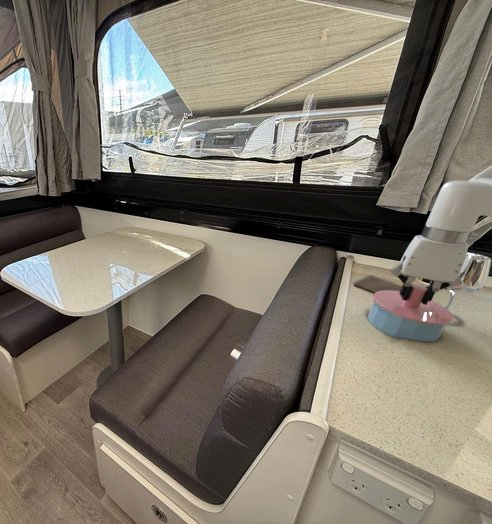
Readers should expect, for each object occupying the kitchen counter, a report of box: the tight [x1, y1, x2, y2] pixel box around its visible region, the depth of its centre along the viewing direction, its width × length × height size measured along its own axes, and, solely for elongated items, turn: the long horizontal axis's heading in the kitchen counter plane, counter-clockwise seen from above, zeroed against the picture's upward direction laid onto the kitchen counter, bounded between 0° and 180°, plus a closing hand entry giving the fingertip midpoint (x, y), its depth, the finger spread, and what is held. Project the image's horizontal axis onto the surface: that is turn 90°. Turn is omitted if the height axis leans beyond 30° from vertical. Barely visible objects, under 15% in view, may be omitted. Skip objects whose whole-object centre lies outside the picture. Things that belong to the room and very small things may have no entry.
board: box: [353, 276, 402, 295], centre depth 92 cm, size 16×12×1 cm
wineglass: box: [443, 252, 492, 311], centre depth 74 cm, size 8×8×20 cm
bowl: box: [367, 300, 448, 343], centre depth 74 cm, size 15×15×6 cm
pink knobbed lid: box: [372, 283, 454, 325], centre depth 72 cm, size 16×16×7 cm
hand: (413, 299), depth 72 cm, fingers closed on pink knobbed lid, 3 cm apart
